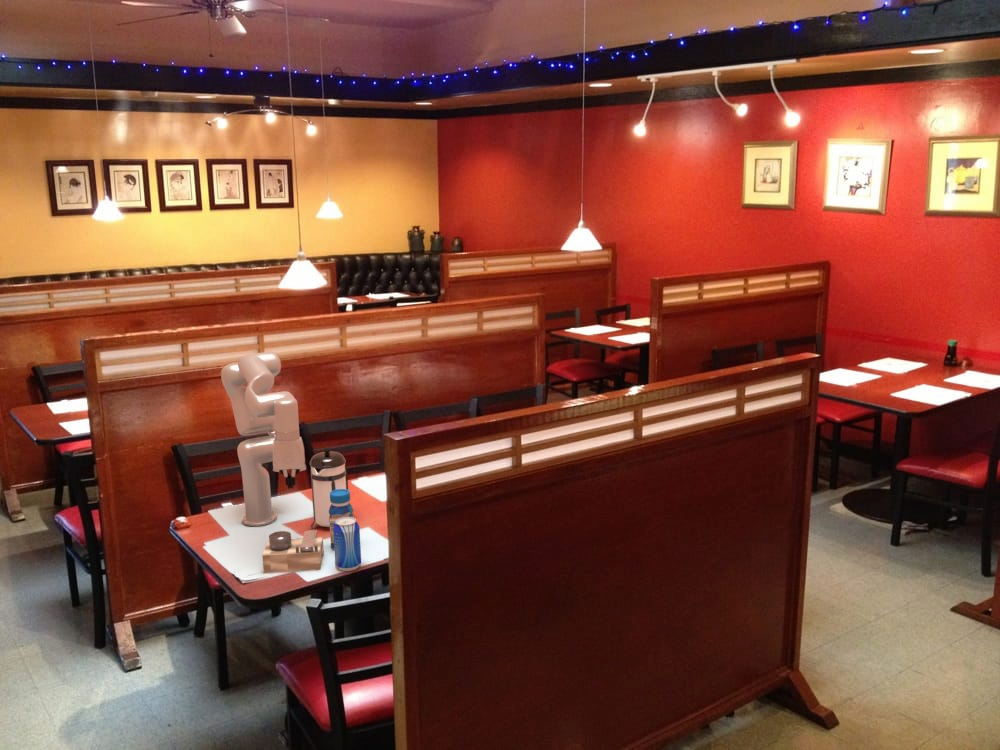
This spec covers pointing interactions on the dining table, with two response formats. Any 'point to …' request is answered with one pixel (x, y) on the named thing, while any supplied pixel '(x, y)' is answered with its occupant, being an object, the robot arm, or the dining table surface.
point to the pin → (280, 541)
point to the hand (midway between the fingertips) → (290, 486)
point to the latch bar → (308, 541)
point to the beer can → (347, 544)
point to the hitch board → (293, 557)
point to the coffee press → (326, 482)
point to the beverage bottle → (339, 508)
